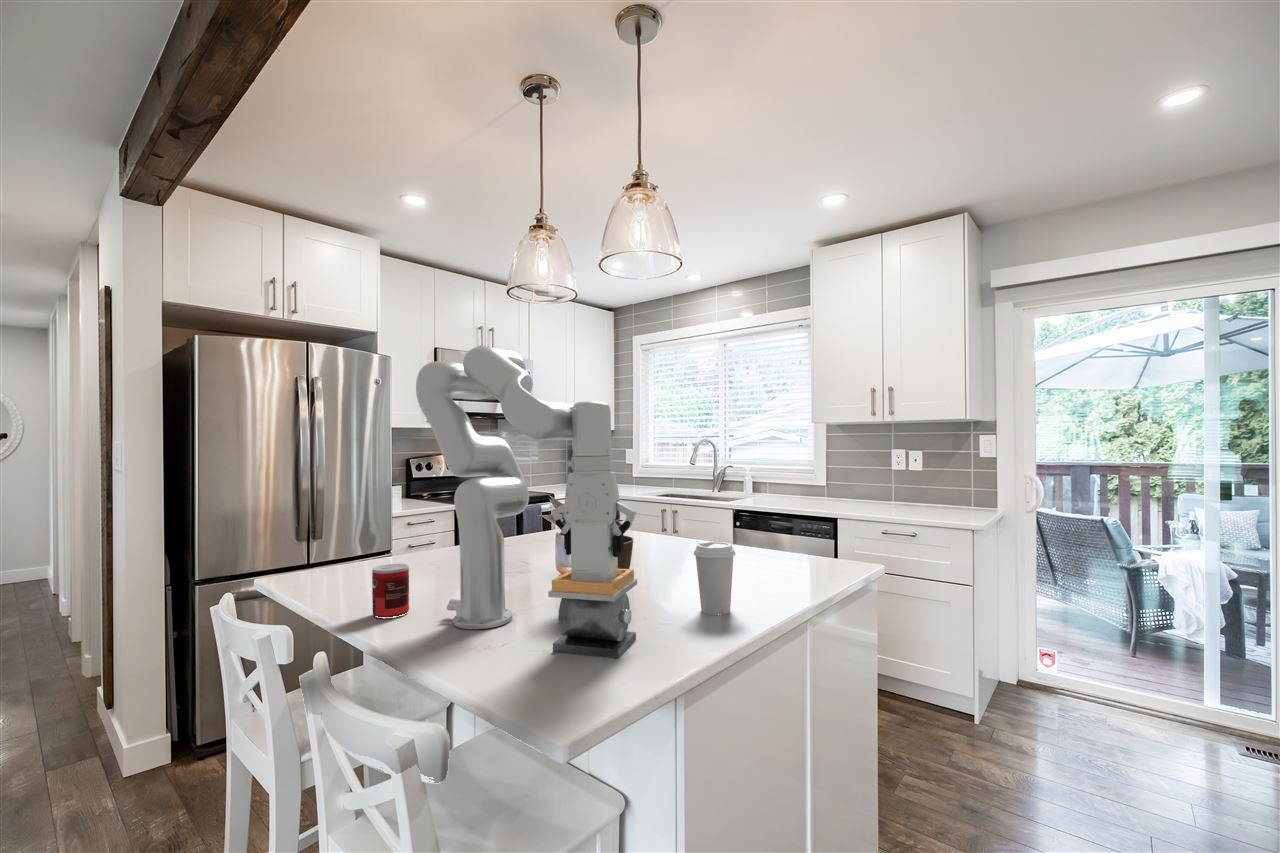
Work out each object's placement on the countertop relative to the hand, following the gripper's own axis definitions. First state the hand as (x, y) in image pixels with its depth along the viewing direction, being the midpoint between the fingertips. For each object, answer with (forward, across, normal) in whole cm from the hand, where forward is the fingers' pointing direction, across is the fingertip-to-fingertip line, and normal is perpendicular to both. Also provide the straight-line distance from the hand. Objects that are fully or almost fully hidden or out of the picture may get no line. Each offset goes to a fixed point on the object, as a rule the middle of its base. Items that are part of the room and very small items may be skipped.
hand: (593, 554), depth 111 cm
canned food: (+18, -54, +7) cm, 57 cm away
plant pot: (+18, -8, +24) cm, 31 cm away
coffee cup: (+18, +18, +28) cm, 38 cm away
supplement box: (+6, 0, 0) cm, 6 cm away
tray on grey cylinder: (+17, 0, 0) cm, 17 cm away
